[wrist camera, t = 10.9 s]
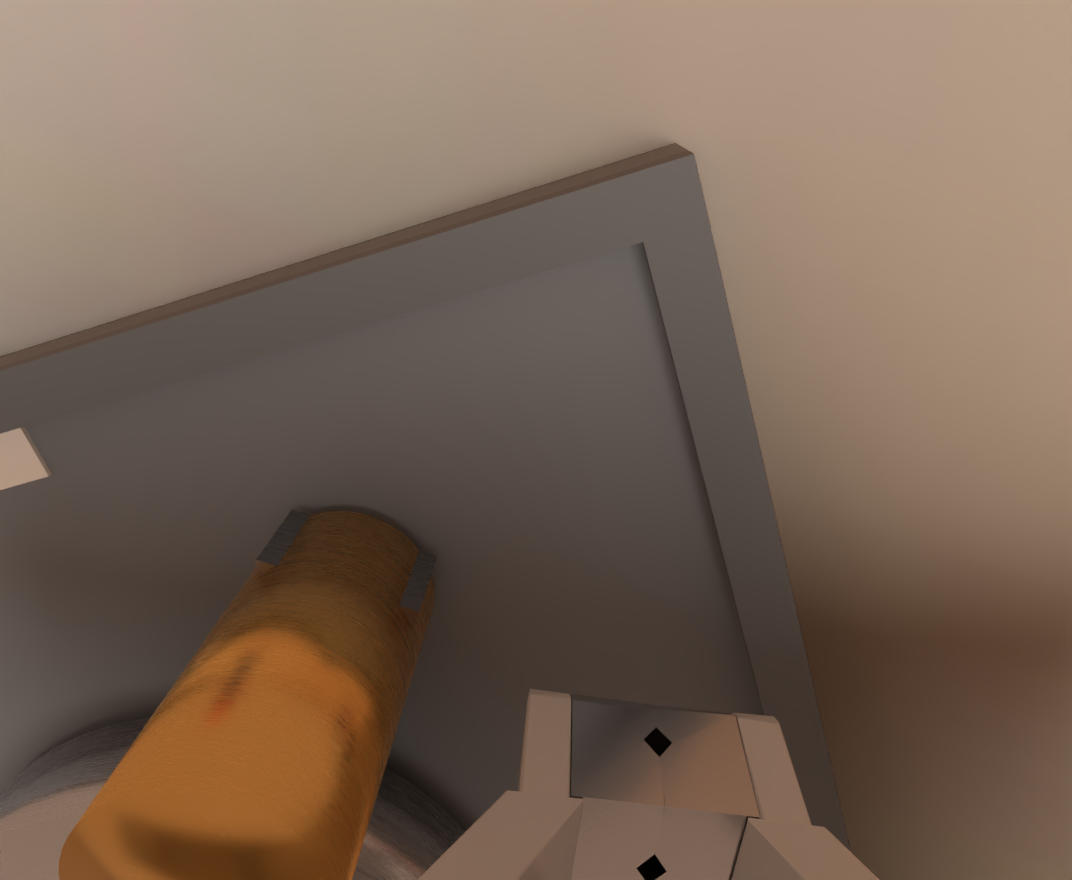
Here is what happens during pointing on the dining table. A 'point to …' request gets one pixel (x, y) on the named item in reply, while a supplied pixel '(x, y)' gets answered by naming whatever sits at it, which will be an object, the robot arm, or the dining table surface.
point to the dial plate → (421, 479)
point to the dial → (258, 736)
